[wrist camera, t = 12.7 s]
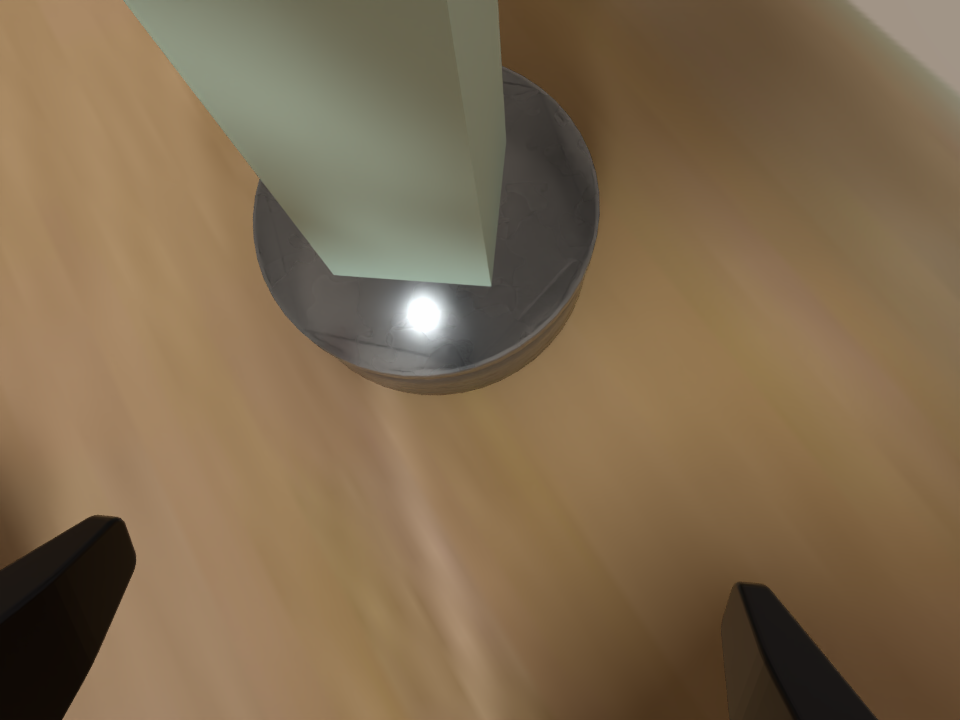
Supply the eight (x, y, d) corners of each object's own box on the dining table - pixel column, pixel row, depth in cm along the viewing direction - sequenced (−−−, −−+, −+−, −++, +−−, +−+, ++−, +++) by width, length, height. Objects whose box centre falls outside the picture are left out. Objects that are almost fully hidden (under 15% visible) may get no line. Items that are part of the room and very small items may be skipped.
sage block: (491, 286, 21) (445, -4, 10) (333, 275, 22) (110, -16, 10) (506, 141, 23) (481, -273, 11) (356, 133, 23) (179, -273, 11)
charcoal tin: (601, 390, 24) (614, 365, 21) (290, 406, 25) (246, 385, 21) (577, 109, 27) (585, 40, 23) (296, 131, 28) (258, 66, 24)
